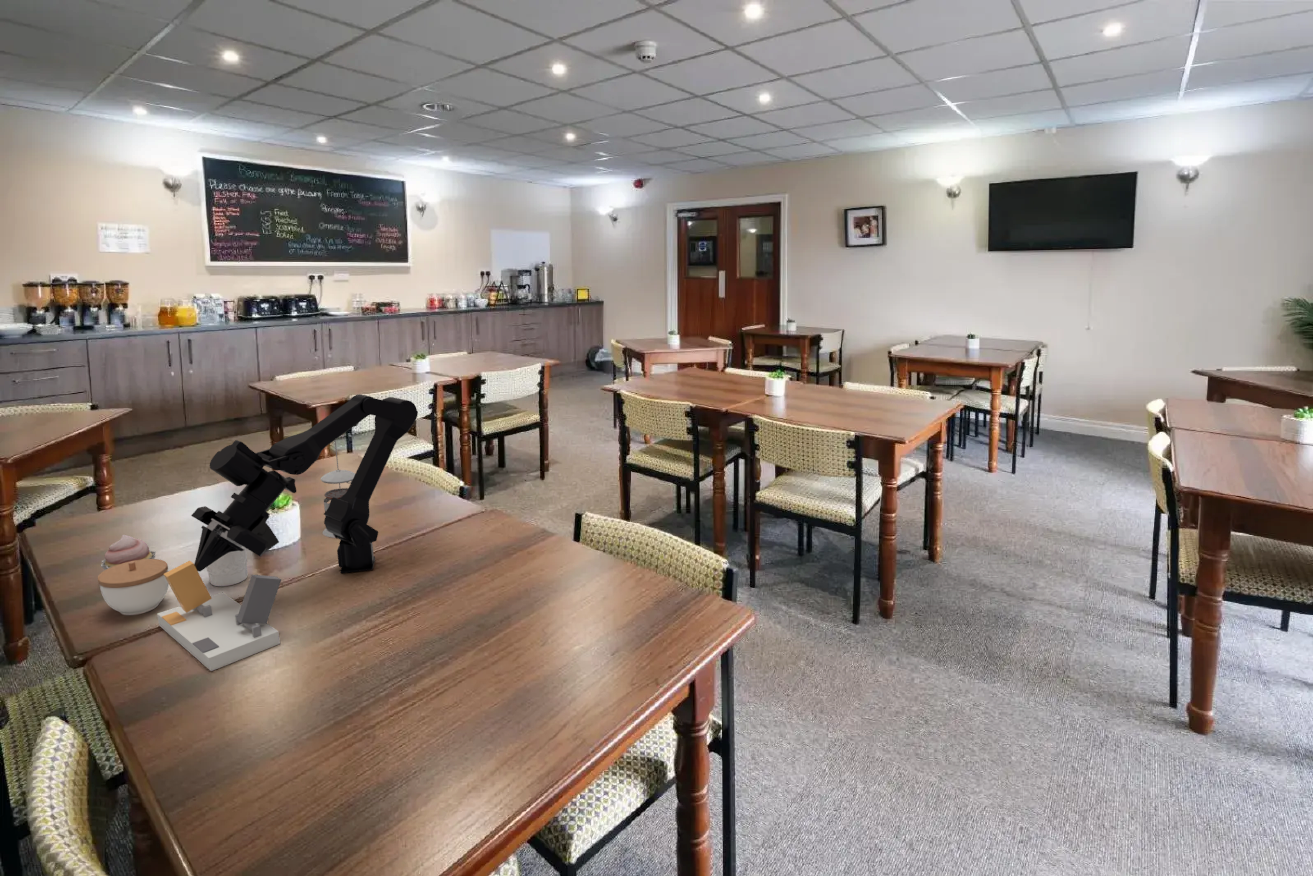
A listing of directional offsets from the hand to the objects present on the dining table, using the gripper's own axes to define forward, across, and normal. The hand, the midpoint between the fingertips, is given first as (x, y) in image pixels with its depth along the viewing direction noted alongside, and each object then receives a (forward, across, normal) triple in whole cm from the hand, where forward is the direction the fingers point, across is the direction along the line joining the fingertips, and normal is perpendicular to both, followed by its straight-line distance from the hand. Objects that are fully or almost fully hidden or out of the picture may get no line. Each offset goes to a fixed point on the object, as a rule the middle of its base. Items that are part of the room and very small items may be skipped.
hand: (196, 570), depth 128 cm
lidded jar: (+11, +15, -4) cm, 19 cm away
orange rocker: (+6, 0, -6) cm, 8 cm away
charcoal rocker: (+4, -14, -7) cm, 16 cm away
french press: (-23, +22, -36) cm, 48 cm away
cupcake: (+9, +30, -7) cm, 32 cm away
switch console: (+7, -7, -7) cm, 12 cm away
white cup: (0, +14, -15) cm, 21 cm away
